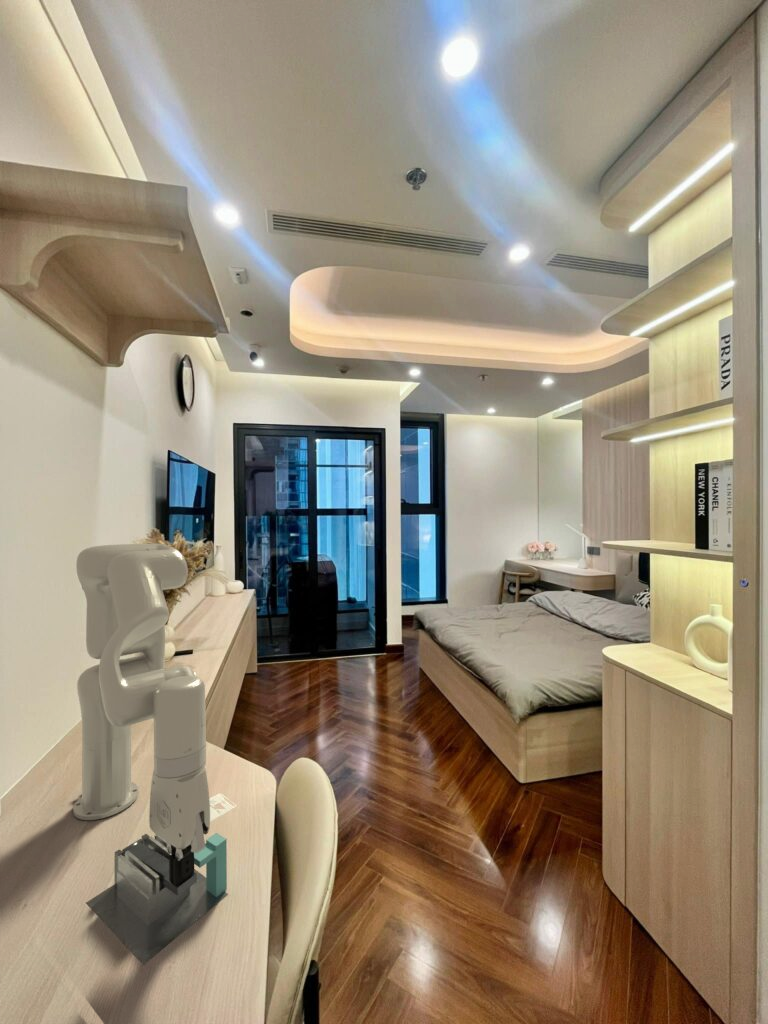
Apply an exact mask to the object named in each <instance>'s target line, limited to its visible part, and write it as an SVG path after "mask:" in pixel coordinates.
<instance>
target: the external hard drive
mask: <svg viewBox="0 0 768 1024" xmlns="http://www.w3.org/2000/svg"><path fill="white" fill-rule="evenodd" d="M209 800H210V823H211V822H212V821H215V820H216V819H218V818H220V817H222V816H223V815H225V814H226V813H228V812H229V811H231V810H232V809H235V808H237V806H238V804H236V803H234V802H232V801H231V800H230V799H229V798H228V797H226V796H225V795H224V794H223V793H217V794H216V795H214V796H212V797H209ZM227 800H228V801H229V802H228V801H227ZM230 802H231V803H232V804H231V803H230ZM217 804H220V805H221V806H222V807H223V808H215V806H216V805H217Z"/></svg>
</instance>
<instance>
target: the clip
mask: <svg viewBox="0 0 768 1024" xmlns="http://www.w3.org/2000/svg"><path fill="white" fill-rule="evenodd" d="M227 850H228V849H227V838H226V837H224V836H222V835H221V834H219V833H218V832H215V833H214V834H213V835H211V836H209V837H208V838H207V839H206V840H205V848H204V849H202V850H201V851H200V852H198V853H194V866H197V867H198V868H199V869H200V868H202V867H203V866H205V865H206V866H205V867H206V868H205V869H206V870H205V871H206V874H205V877H206V890H207V891H209V892H210V893H211V894H213V895H214V896H215V897H218V896H219V895H220V894H221V893H222V892H224V891H225V892H226V891H227V889H228V888H227V887H228V884H227V883H228V882H227V881H228V880H227V879H228V878H227V873H228V870H227V869H228V868H227V861H228V860H227V853H228V852H227Z"/></svg>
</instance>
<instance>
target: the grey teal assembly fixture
mask: <svg viewBox="0 0 768 1024" xmlns="http://www.w3.org/2000/svg"><path fill="white" fill-rule="evenodd" d="M141 839H142V841H143V844H145V845H146V846H148V847H149V848H151V849H153V850H154V851H156V852H157V853H159V854H161V855H162V856H164V857H165V858H167V859H168V860H169V856H170V855H172V854H169V853H168V851H167V842H166V841H165V840H163V839H162V838H161V837H159V836H158V835H156V834H155V833H154V837H153V836H150V835H149V834H148V833H144V834H143V835H141ZM194 872H195V873H196V874H197V882H196V883H194V884H193V885H192V886H190V887H189V888H188V889H186V890H185V891H184V892H182V893H181V894H180V895H179V896H177V895H176V894H174V893H173V892H172V891H170V890H169V889H167V888H166V887H164V882H163V881H162V880H160V879H159V876H158V875H157V874H156V873H155V872H154V871H152V870H151V869H150V868H149V867H147V866H146V865H145V864H144V863H143V862H141V861H140V860H139V859H138V858H137V857H135V856H134V855H133V854H132V853H130V852H129V851H126V852H125V857H124V856H123V852H122V849H118V850H116V851H114V884H113V885H111V886H110V887H108V888H106V889H105V890H104V891H101V892H100V893H99V894H97V895H96V896H94V897H93V898H91V899H89V900H88V901H86V902H85V903H86V905H87V906H88V907H89V908H90V909H91V910H92V911H93V912H94V913H95V914H96V915H97V916H98V917H99V919H101V920H102V922H103V923H104V924H105V925H106V926H107V927H108V928H109V929H110V930H111V931H112V932H113V933H114V935H115V936H116V937H118V939H119V940H120V941H121V943H123V944H124V946H126V948H127V949H128V950H129V951H130V952H131V953H132V954H133V955H134V956H135V957H136V958H137V959H138V960H139V962H140V963H141V964H142V965H146V964H147V963H148V962H149V961H150V960H151V959H153V958H154V957H155V956H156V955H158V954H159V953H160V952H161V951H162V950H163V949H164V948H166V947H167V946H169V944H171V943H172V942H173V941H174V940H176V939H177V938H178V937H179V936H180V935H181V934H183V933H184V932H186V930H187V929H189V928H190V927H191V926H192V925H193V924H195V923H196V922H197V921H198V920H199V919H201V918H202V917H203V916H204V915H206V913H208V912H209V911H210V910H211V909H213V908H214V907H215V906H216V905H218V903H220V902H221V901H223V900H224V899H225V898H226V897H227V896H228V895H229V894H228V892H227V891H226V890H225V891H224V892H222V893H221V894H220V895H219V896H218V897H215V896H214V895H213V894H211V893H210V892H209V891H207V890H206V875H204V874H202V873H201V872H199V871H198V870H197V869H195V868H194Z"/></svg>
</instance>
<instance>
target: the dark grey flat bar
mask: <svg viewBox="0 0 768 1024" xmlns="http://www.w3.org/2000/svg"><path fill="white" fill-rule="evenodd" d="M121 851H122V852H123V856H124V857H125V852H126V851H129V852H130V853H132V854H133V855H134V856H135V857H137V858H138V859H139V860H140V861H141V862H143V863H144V864H145V865H146V866H147V867H149V868H150V869H151V870H152V871H154V872H155V873H156V874H157V875H158V876H159V879H160V880H162V881H163V882H164V887H166V888H167V889H169V890H170V891H172V892H173V893H174V894H176V895H177V896H179V895H180V894H181V893H182V892H184V891H185V890H186V889H188V888H189V887H190V886H192V885H193V884H194V883H196V882H197V874H196V873H195V872H194V873H193V874H192V875H191V876H189V877H188V878H187V879H185V880H184V881H183V882H181V883H180V884H179V885H177V886H175V885H174V884H173V883H172V882H170V881H169V860H168V859H167V858H165V857H164V856H162V855H161V854H159V853H157V852H156V851H154V850H153V849H151V848H149V847H148V846H146V845H145V844H143V841H142V838H139V839H138V840H136V841H133V843H131V844H129V845H128V846H126V847H124V848H123V849H121Z"/></svg>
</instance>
